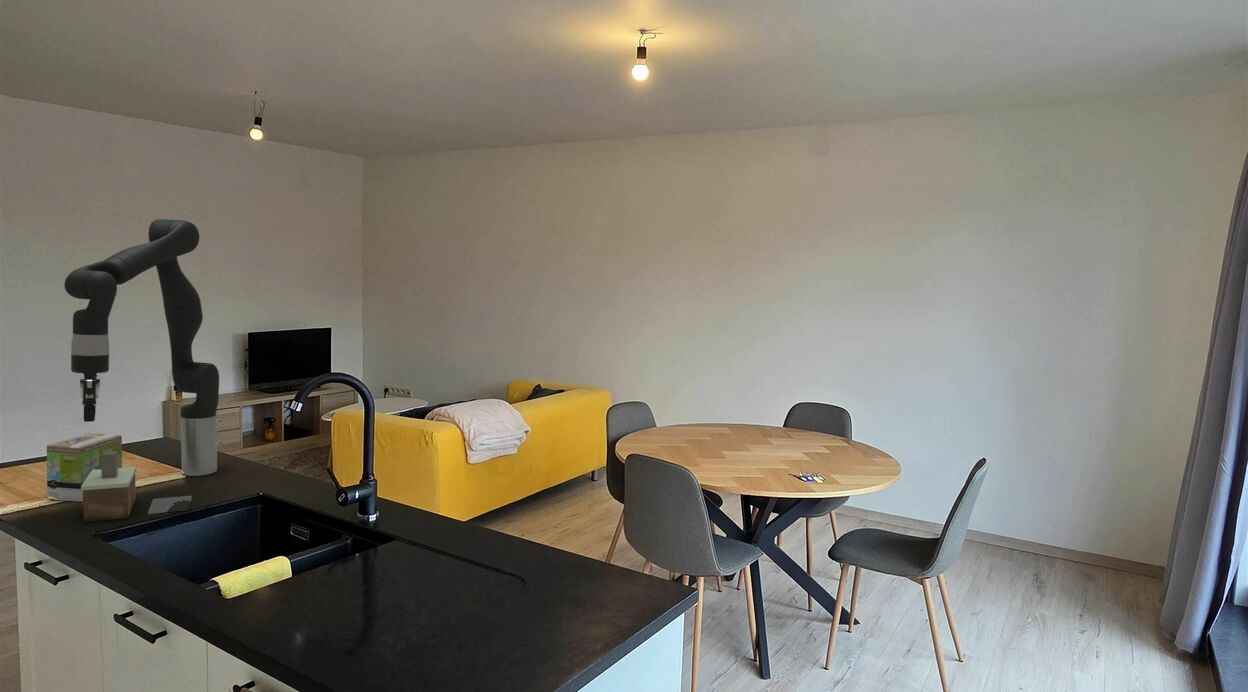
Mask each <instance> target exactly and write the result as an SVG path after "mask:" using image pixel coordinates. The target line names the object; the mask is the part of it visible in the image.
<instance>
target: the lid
mask: <svg viewBox="0 0 1248 692" xmlns="http://www.w3.org/2000/svg"><path fill="white" fill-rule="evenodd" d="M136 473H137V466H132V467H131V466H130V467H122V468H118V459H117V451H112V452H103V453H102V454H101V469H98V470H92V471H91V472H90V474H89V475H88V477H87V478H86V480H85V481H84V483H83V484H82V486H81V491H82V490H95V489H108V488H121V487H129V485H130V483H131V481H132V479H133V477H134V475H135V476H136Z"/></svg>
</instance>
